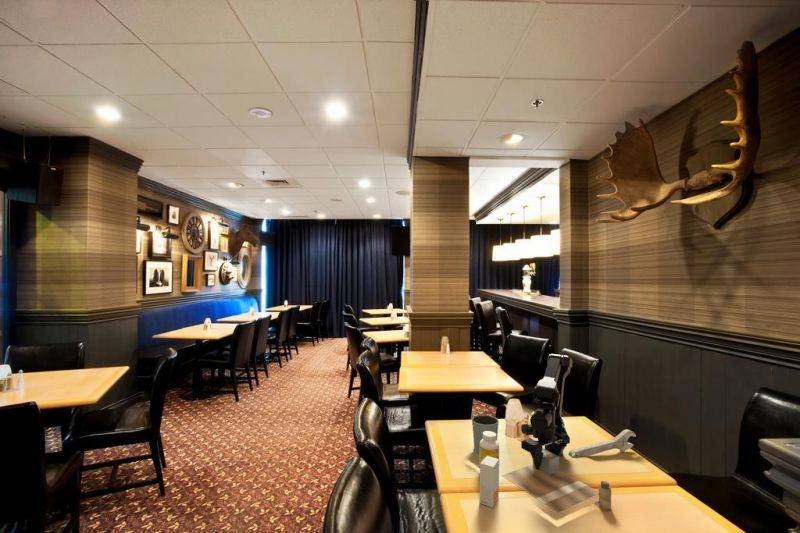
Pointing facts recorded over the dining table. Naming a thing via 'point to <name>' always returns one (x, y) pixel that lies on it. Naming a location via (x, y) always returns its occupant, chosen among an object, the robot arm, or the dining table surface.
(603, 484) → the tan small bottle
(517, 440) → the dining table surface
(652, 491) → the dining table surface
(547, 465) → the block
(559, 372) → the robot arm
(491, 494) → the skincare box
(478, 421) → the grey green cup
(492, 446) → the supplement bottle
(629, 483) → the dining table surface
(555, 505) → the board
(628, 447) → the wrench
